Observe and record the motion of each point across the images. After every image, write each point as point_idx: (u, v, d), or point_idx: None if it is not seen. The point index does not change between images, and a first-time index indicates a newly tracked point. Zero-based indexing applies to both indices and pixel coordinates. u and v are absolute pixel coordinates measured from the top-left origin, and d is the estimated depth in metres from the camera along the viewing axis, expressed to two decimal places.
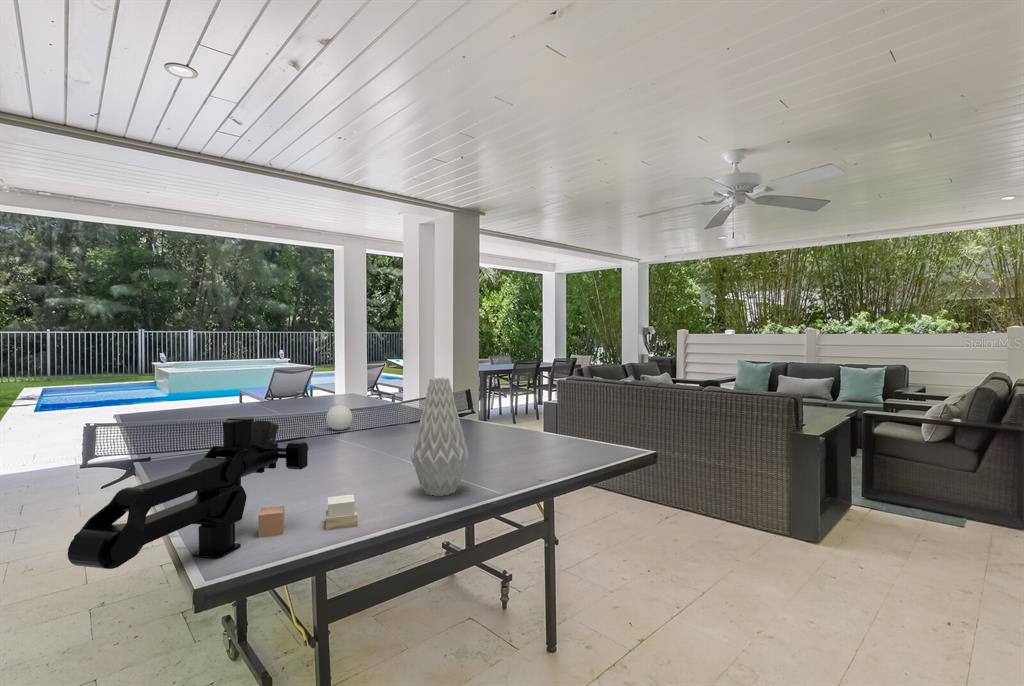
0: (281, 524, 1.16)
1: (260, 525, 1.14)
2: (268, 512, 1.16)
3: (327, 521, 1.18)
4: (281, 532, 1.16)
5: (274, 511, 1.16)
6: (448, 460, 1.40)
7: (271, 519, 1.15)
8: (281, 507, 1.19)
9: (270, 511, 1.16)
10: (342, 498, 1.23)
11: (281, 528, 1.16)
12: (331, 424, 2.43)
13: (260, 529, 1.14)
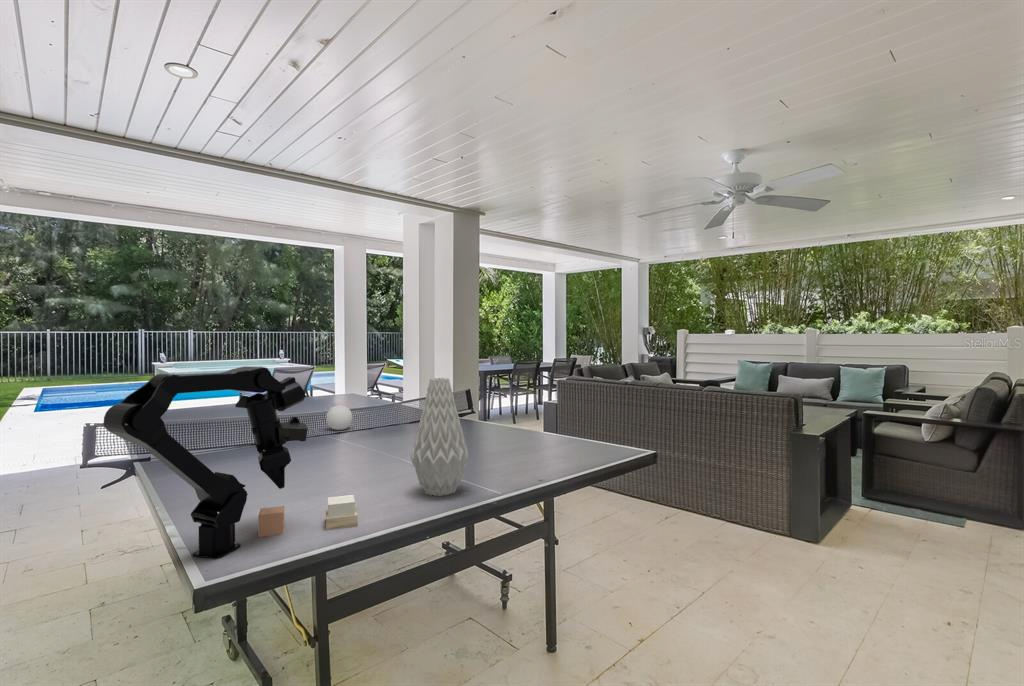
0: (281, 524, 1.16)
1: (260, 525, 1.14)
2: (268, 512, 1.16)
3: (327, 521, 1.18)
4: (281, 532, 1.16)
5: (274, 511, 1.16)
6: (448, 460, 1.40)
7: (271, 519, 1.15)
8: (281, 507, 1.19)
9: (270, 511, 1.16)
10: (342, 498, 1.23)
11: (281, 528, 1.16)
12: (331, 424, 2.43)
13: (260, 529, 1.14)
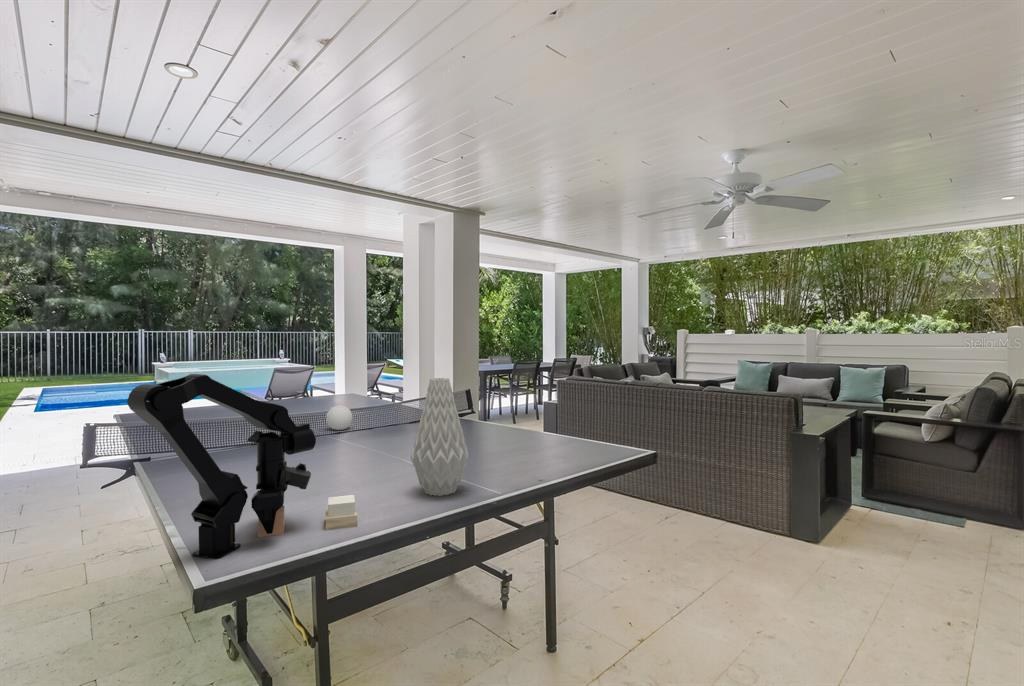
0: (281, 524, 1.16)
1: (260, 525, 1.14)
2: None
3: (327, 521, 1.18)
4: (281, 532, 1.16)
5: None
6: (448, 460, 1.40)
7: None
8: (281, 507, 1.19)
9: None
10: (343, 498, 1.23)
11: (281, 528, 1.16)
12: (331, 424, 2.43)
13: (260, 529, 1.14)
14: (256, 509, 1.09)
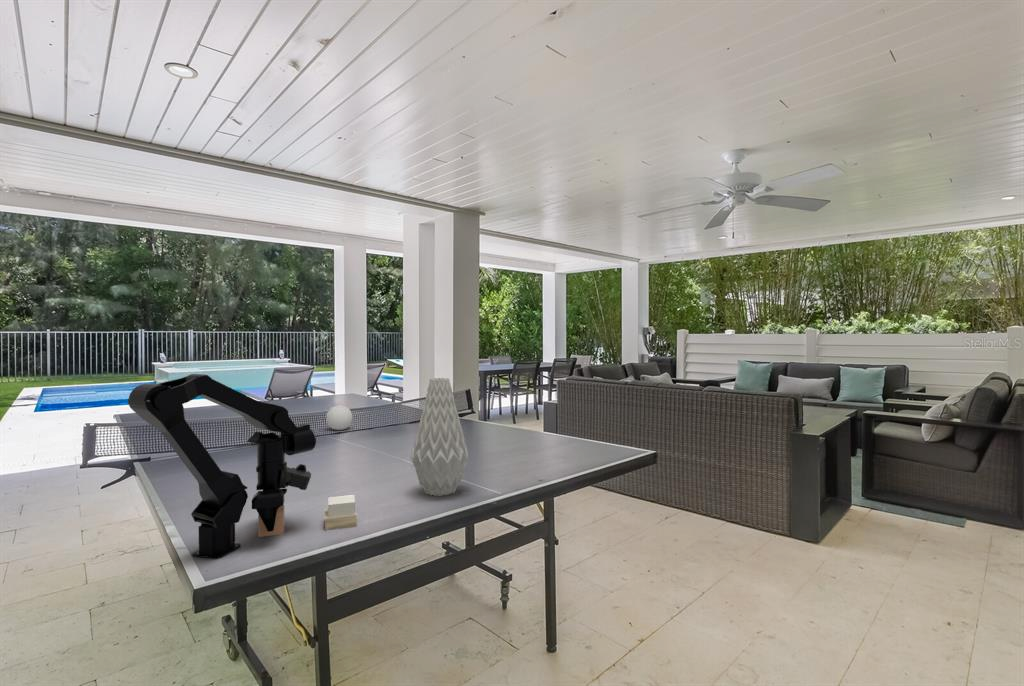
0: (281, 524, 1.16)
1: (260, 525, 1.14)
2: None
3: (326, 521, 1.18)
4: (281, 532, 1.16)
5: None
6: (448, 460, 1.40)
7: None
8: (281, 507, 1.19)
9: None
10: (343, 498, 1.23)
11: (281, 528, 1.16)
12: (331, 424, 2.43)
13: (260, 529, 1.14)
14: None
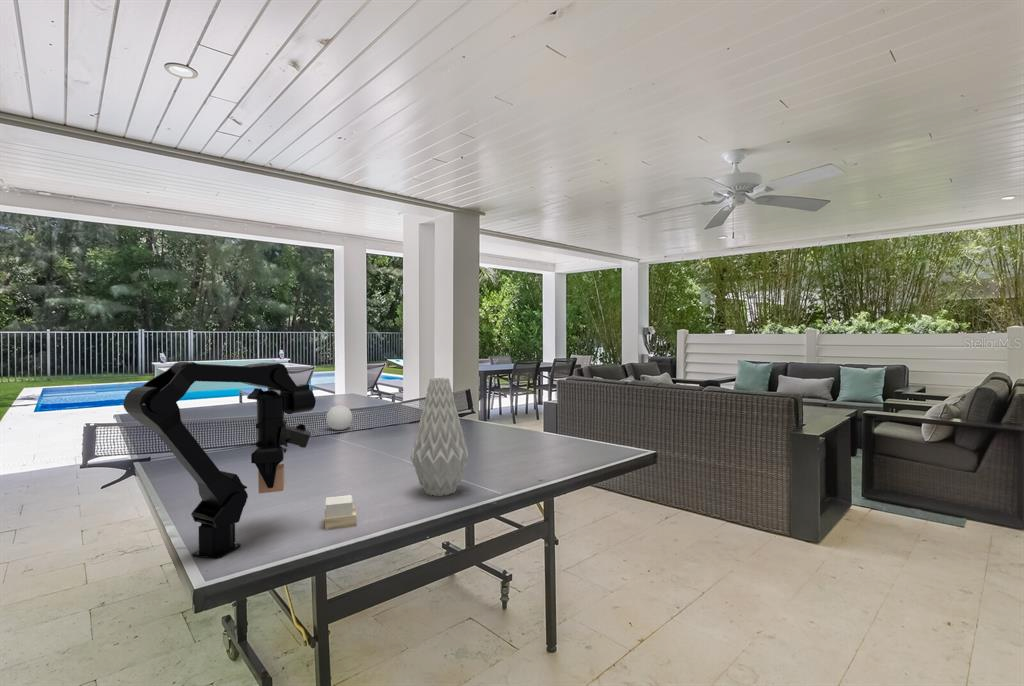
0: (281, 481, 1.16)
1: (260, 481, 1.14)
2: None
3: (326, 521, 1.18)
4: (281, 489, 1.16)
5: None
6: (448, 460, 1.40)
7: None
8: (281, 465, 1.19)
9: None
10: (340, 499, 1.23)
11: (281, 485, 1.16)
12: (331, 424, 2.43)
13: (260, 485, 1.14)
14: (257, 462, 1.11)
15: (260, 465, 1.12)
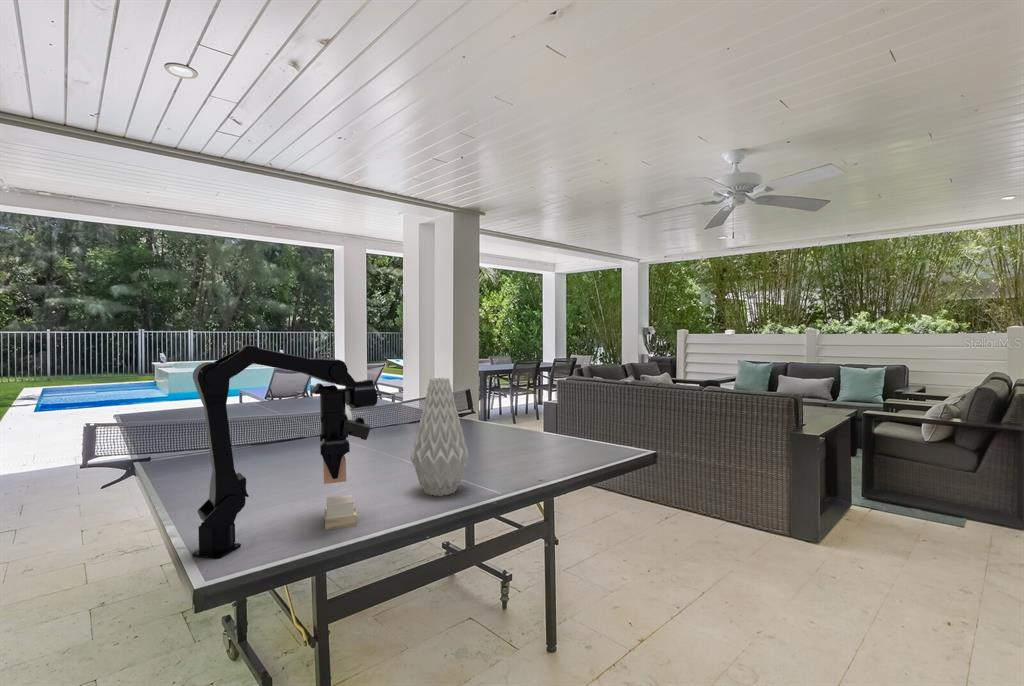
0: (344, 471, 1.21)
1: (325, 472, 1.19)
2: None
3: (326, 521, 1.18)
4: (345, 479, 1.21)
5: None
6: (448, 460, 1.40)
7: None
8: (343, 457, 1.24)
9: None
10: (341, 499, 1.23)
11: (344, 475, 1.21)
12: None
13: (325, 476, 1.19)
14: (324, 454, 1.16)
15: (326, 457, 1.17)
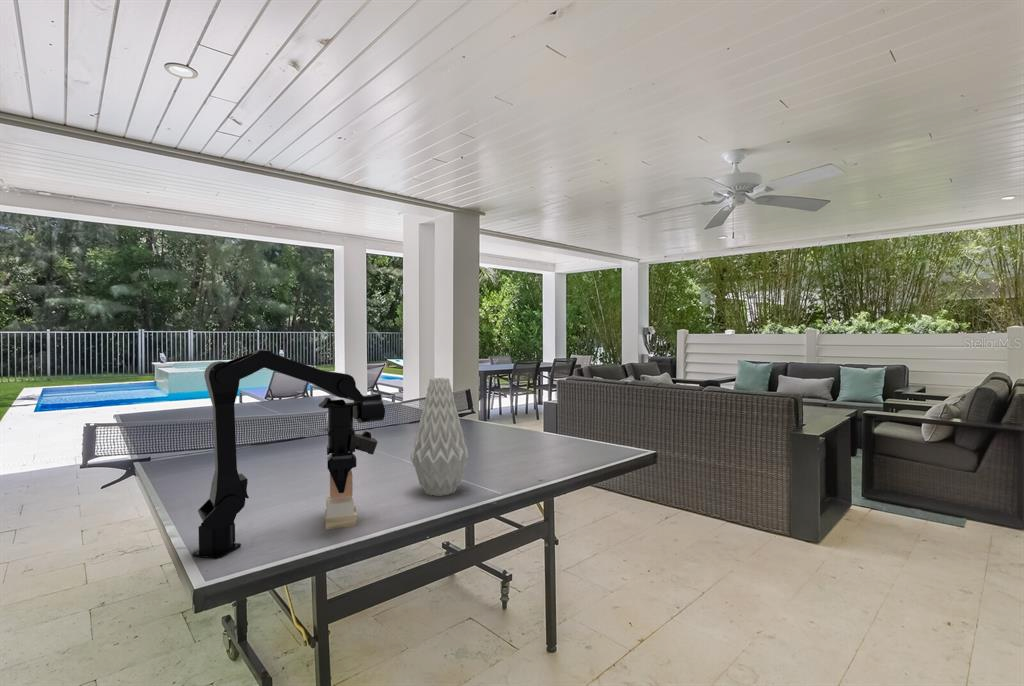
0: (351, 486, 1.21)
1: (332, 486, 1.19)
2: None
3: (327, 521, 1.19)
4: (351, 493, 1.21)
5: None
6: (448, 460, 1.40)
7: None
8: (349, 471, 1.24)
9: None
10: (341, 498, 1.23)
11: (351, 490, 1.21)
12: None
13: (332, 490, 1.19)
14: None
15: (333, 471, 1.18)
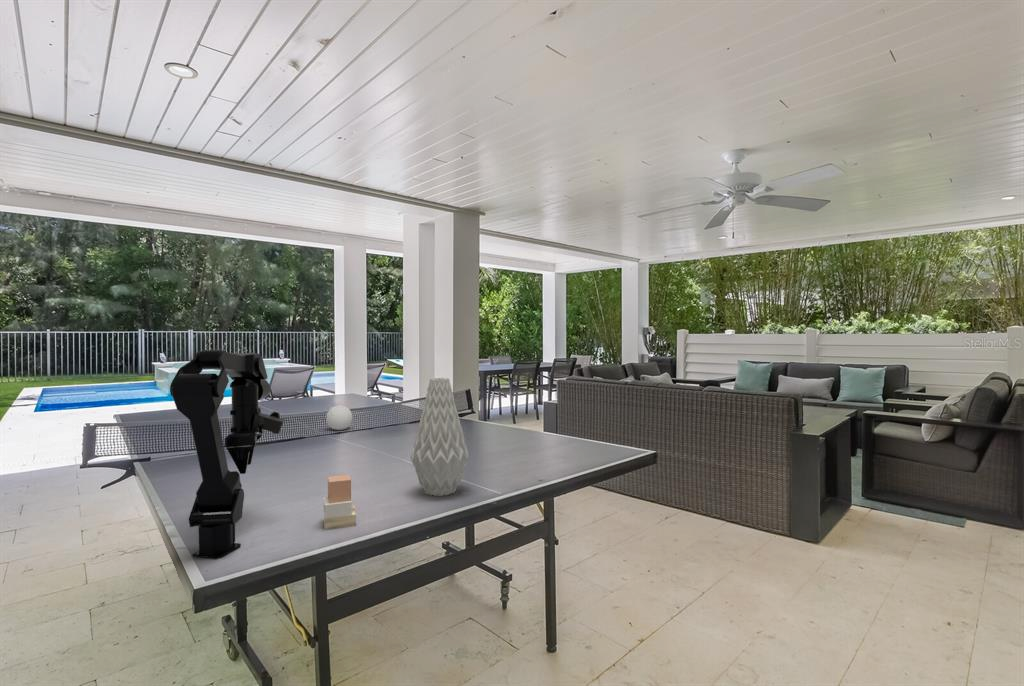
0: (349, 491, 1.22)
1: (330, 491, 1.20)
2: (337, 480, 1.21)
3: (325, 521, 1.19)
4: (349, 498, 1.22)
5: (343, 479, 1.22)
6: (448, 460, 1.40)
7: (340, 486, 1.21)
8: (347, 476, 1.25)
9: (339, 479, 1.22)
10: None
11: (349, 495, 1.22)
12: (331, 424, 2.43)
13: (330, 495, 1.20)
14: (229, 448, 1.15)
15: (232, 451, 1.16)
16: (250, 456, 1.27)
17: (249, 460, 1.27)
